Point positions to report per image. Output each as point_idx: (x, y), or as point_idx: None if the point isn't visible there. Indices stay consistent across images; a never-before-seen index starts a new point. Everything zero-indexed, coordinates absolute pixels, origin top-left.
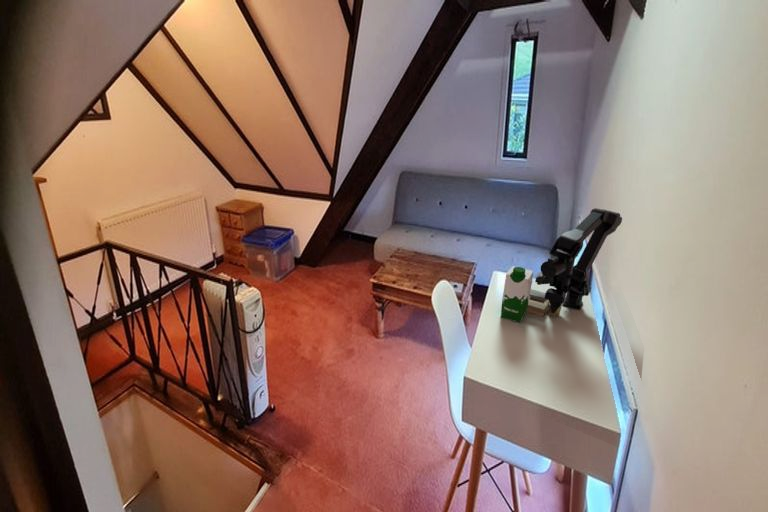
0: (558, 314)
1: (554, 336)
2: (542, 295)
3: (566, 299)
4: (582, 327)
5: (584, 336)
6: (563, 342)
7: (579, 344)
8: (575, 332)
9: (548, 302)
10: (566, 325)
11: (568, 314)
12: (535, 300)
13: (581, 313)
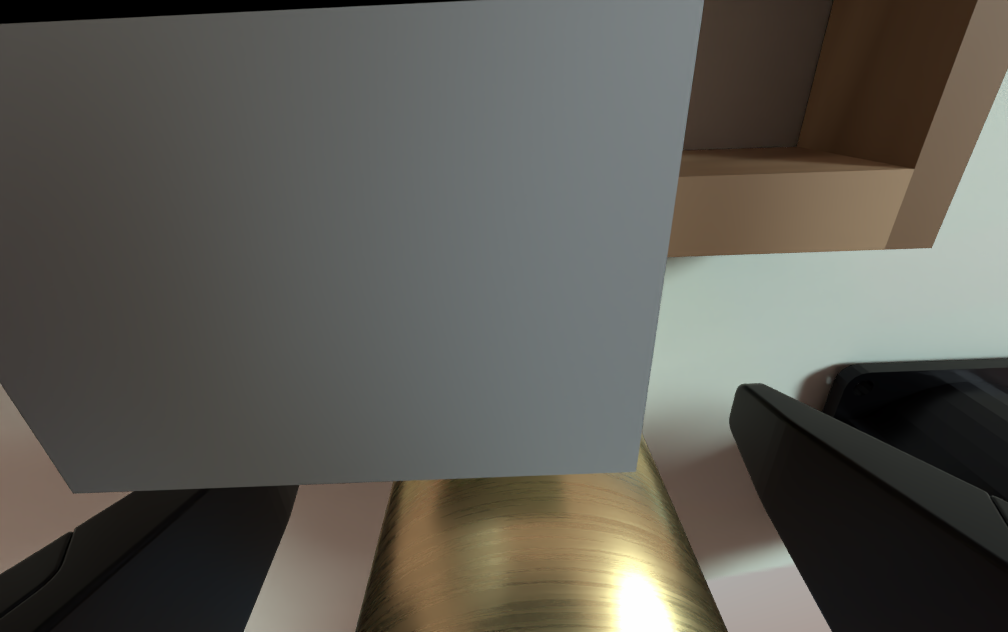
0: None
1: (26, 447)
2: (199, 252)
3: (951, 443)
4: None
5: (297, 613)
6: (20, 526)
7: None
8: (299, 561)
9: (696, 250)
10: (362, 487)
11: None
12: None
13: (714, 539)
